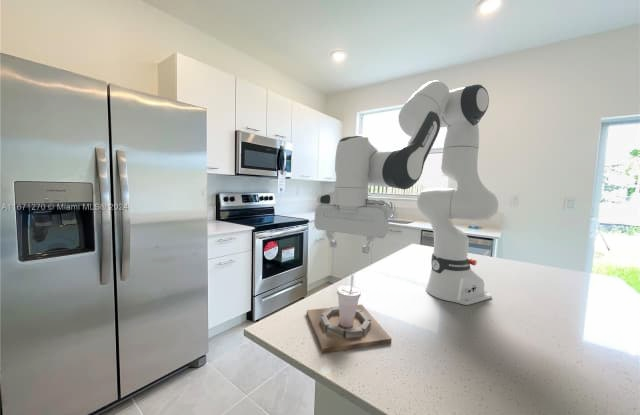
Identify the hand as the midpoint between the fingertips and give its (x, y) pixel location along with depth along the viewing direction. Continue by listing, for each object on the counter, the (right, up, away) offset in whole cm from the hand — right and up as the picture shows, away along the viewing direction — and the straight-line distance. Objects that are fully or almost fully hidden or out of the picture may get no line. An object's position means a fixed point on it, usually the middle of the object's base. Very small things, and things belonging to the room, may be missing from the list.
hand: (348, 249), depth 68 cm
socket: (-1, -22, +2) cm, 22 cm away
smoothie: (0, -21, +2) cm, 21 cm away
